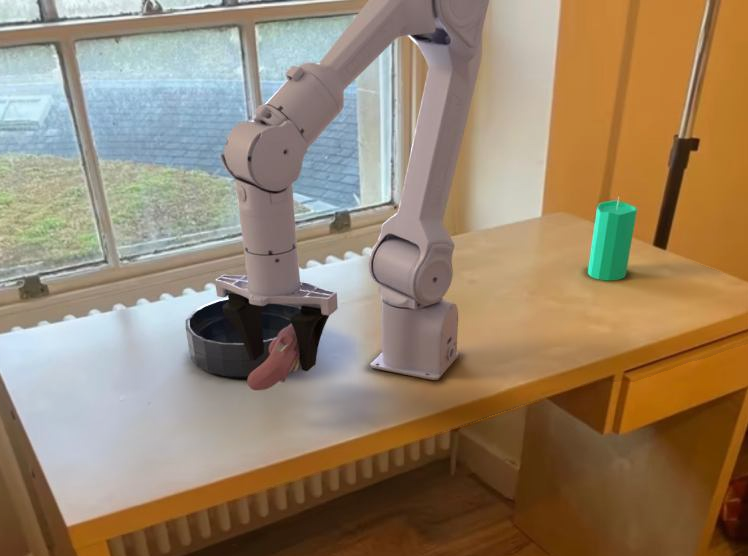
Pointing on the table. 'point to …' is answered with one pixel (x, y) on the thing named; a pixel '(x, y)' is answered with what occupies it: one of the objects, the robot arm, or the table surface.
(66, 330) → the table surface
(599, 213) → the candle
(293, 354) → the pink curved piece
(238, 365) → the dark round bowl
